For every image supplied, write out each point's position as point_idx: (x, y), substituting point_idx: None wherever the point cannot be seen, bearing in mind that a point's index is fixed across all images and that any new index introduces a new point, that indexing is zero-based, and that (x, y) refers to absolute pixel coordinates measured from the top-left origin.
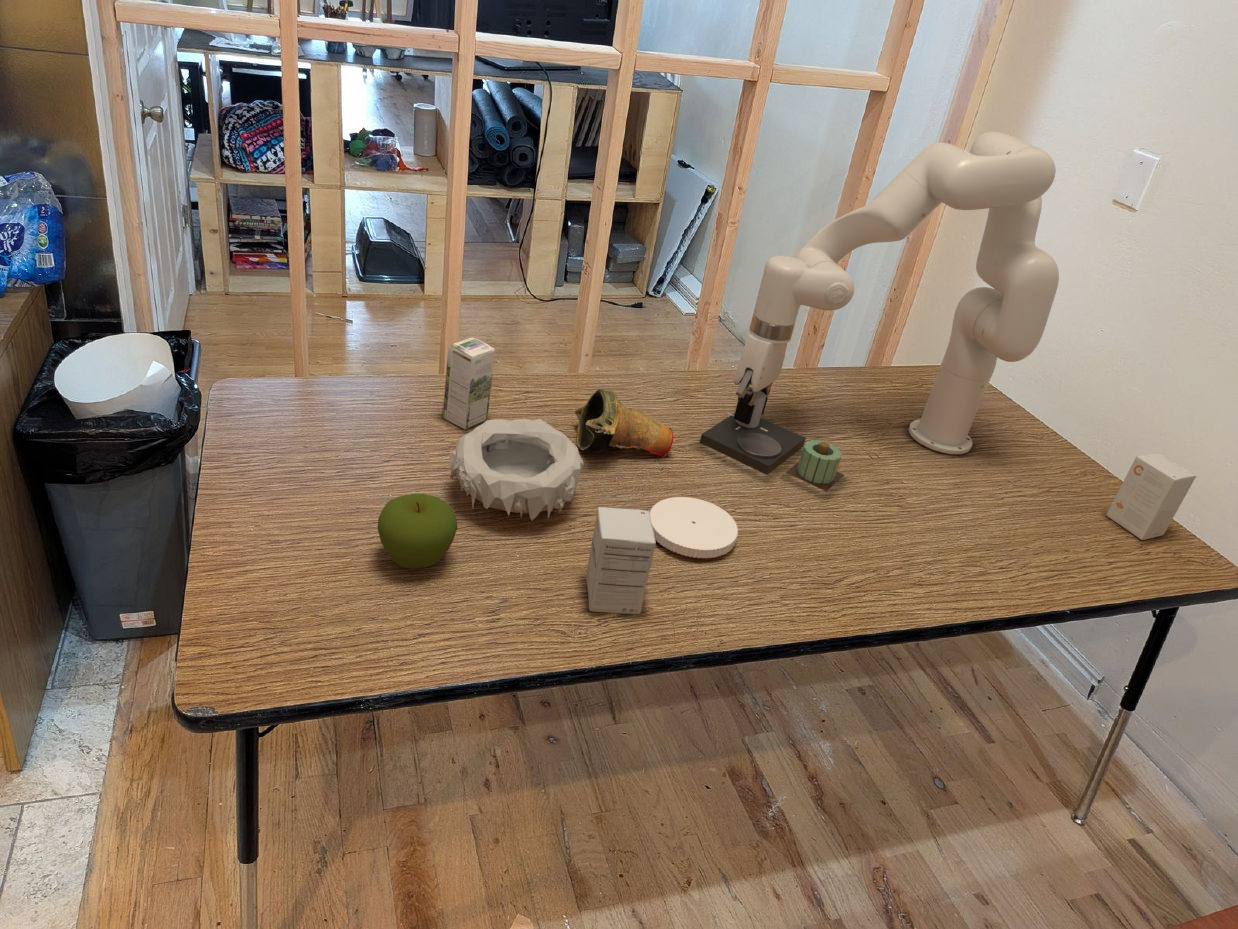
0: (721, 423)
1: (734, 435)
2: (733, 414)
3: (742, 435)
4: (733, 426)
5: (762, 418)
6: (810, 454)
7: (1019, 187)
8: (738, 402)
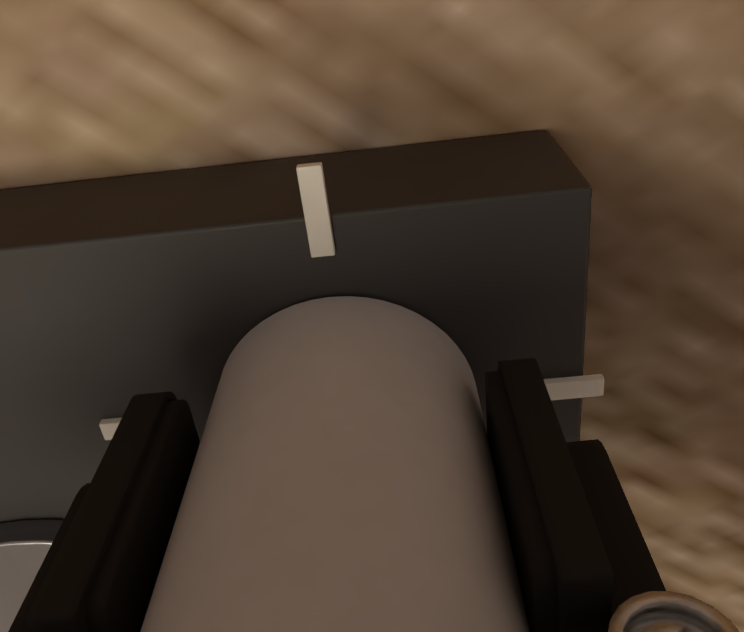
0: (35, 272)
1: (4, 474)
2: (363, 220)
3: (27, 554)
4: (128, 379)
5: (579, 438)
6: None
7: None
8: (53, 584)
